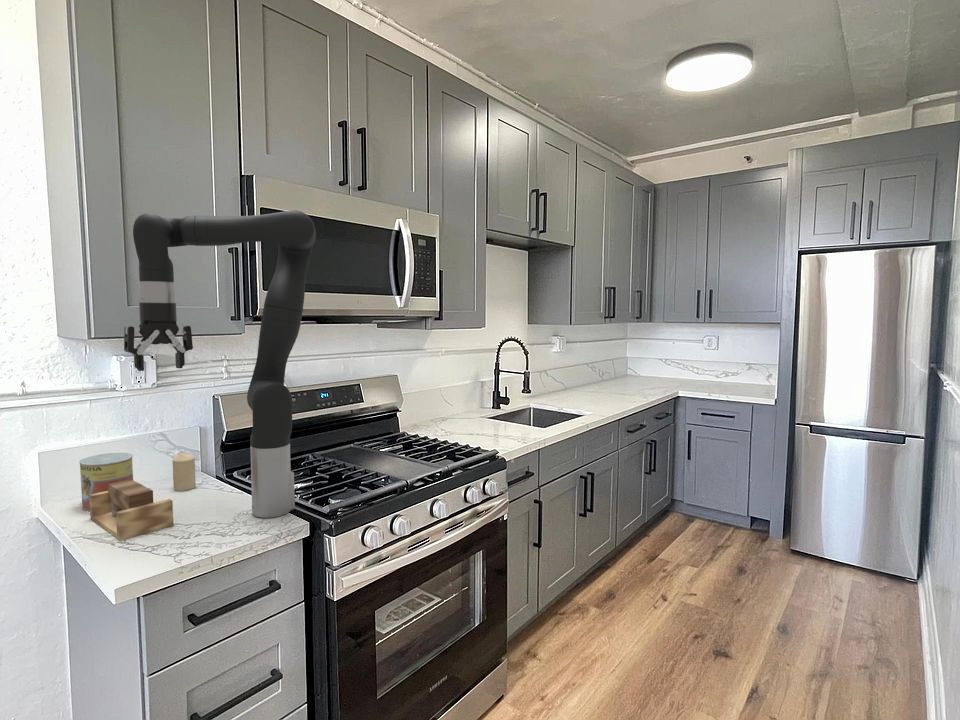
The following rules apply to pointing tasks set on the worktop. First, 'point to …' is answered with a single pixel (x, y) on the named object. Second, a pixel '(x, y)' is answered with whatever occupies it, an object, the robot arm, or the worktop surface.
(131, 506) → the brown wooden block
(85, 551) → the worktop surface
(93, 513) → the peg frame
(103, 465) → the canned food
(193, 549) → the worktop surface
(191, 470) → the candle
